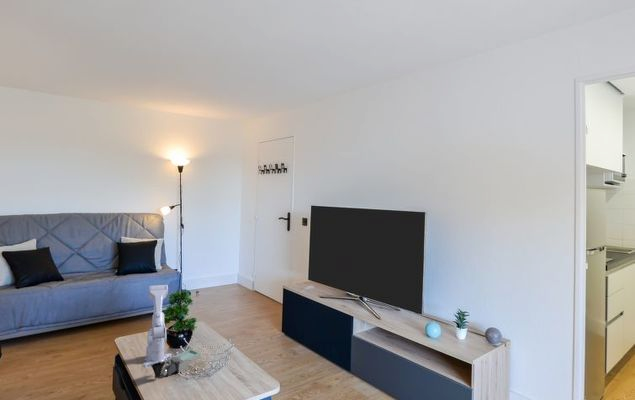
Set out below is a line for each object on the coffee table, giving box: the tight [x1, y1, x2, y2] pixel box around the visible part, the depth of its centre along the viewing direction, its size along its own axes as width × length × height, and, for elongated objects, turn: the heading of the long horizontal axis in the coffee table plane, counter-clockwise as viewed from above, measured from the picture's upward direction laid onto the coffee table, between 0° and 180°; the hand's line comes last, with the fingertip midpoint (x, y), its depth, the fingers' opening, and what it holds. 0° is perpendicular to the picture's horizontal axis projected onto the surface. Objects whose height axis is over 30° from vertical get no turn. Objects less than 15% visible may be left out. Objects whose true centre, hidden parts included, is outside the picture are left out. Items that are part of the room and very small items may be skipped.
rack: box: [167, 349, 201, 363], centre depth 202 cm, size 8×15×2 cm, turn 148°
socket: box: [168, 356, 190, 374], centre depth 190 cm, size 8×6×6 cm
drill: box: [160, 362, 178, 377], centre depth 186 cm, size 11×5×5 cm, turn 148°
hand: (157, 376), depth 179 cm, fingers closed
